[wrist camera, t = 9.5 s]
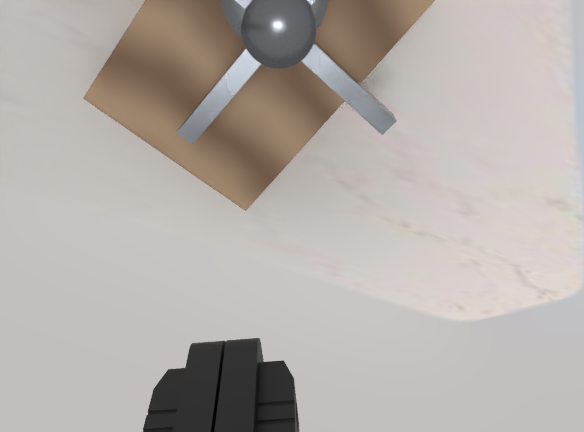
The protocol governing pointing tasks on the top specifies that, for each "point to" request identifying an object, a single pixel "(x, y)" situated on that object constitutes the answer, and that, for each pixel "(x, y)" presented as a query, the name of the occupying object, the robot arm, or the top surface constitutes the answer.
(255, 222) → the top surface
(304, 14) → the capstan
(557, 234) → the top surface
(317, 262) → the top surface
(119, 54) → the board
